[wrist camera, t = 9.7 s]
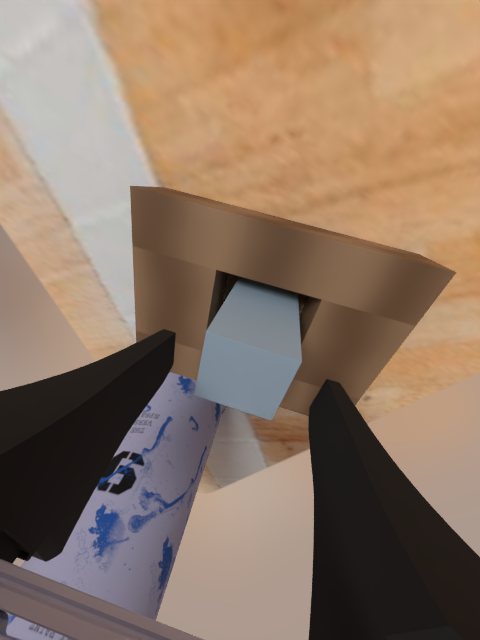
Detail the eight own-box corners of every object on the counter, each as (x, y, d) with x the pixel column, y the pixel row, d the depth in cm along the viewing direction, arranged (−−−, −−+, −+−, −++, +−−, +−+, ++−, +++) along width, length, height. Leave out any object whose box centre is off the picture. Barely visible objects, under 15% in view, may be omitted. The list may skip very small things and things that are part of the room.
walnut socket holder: (419, 254, 13) (456, 272, 10) (332, 389, 19) (339, 425, 16) (164, 187, 14) (130, 185, 11) (159, 336, 20) (137, 361, 17)
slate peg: (297, 287, 16) (301, 361, 9) (279, 333, 18) (271, 420, 11) (243, 271, 16) (206, 331, 9) (231, 318, 18) (194, 394, 11)
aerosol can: (206, 358, 21) (-210, 1166, 3) (238, 415, 24) (99, 990, 7) (141, 371, 23) (-270, 862, 6) (177, 421, 26) (-31, 840, 9)
